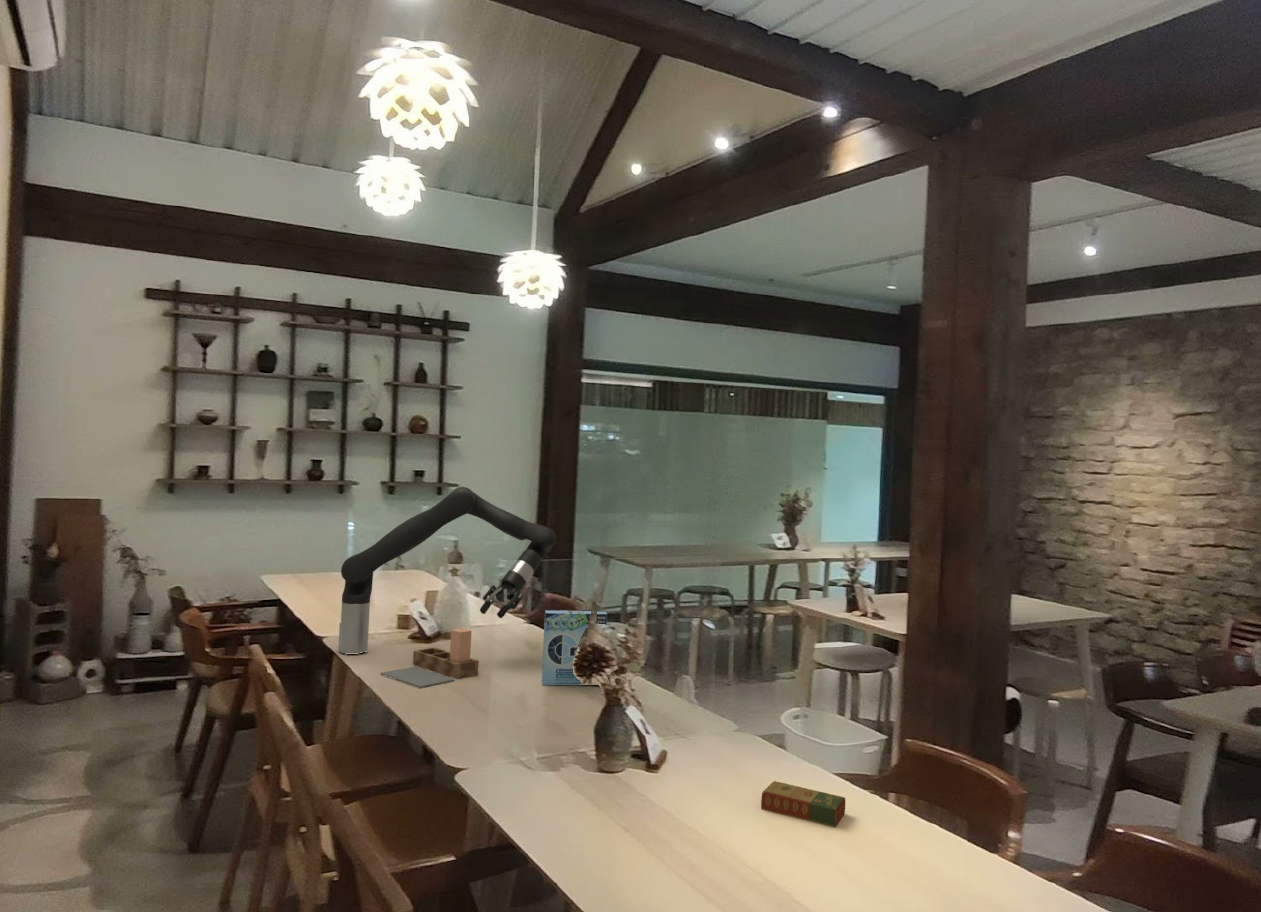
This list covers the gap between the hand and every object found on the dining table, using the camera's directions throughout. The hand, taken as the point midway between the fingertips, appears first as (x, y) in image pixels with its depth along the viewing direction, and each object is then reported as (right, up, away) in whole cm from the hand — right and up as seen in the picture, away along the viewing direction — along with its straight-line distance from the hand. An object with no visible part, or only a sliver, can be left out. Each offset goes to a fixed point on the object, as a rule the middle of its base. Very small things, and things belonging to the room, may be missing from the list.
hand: (490, 614), depth 297 cm
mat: (-20, -17, -16) cm, 31 cm away
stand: (-14, -17, -4) cm, 22 cm away
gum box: (+28, -20, -14) cm, 37 cm away
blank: (-9, -17, -9) cm, 21 cm away
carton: (+83, -24, -105) cm, 136 cm away
